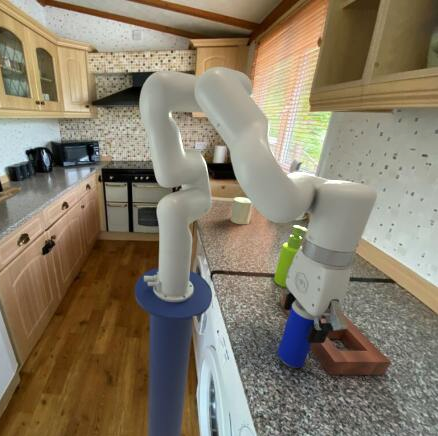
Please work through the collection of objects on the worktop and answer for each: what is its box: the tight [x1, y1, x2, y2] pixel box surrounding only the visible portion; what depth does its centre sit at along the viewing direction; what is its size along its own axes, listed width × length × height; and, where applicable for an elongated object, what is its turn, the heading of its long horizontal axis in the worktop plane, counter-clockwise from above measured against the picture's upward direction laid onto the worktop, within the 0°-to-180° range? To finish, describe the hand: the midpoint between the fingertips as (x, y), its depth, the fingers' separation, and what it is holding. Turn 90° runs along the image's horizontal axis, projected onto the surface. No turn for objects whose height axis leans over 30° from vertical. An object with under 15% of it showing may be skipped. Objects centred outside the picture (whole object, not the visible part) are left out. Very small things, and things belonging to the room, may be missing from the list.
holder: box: [280, 293, 392, 376], centre depth 60 cm, size 12×20×4 cm, turn 0°
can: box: [230, 196, 253, 225], centre depth 124 cm, size 9×9×12 cm
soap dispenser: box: [273, 224, 307, 289], centre depth 75 cm, size 6×7×20 cm
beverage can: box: [277, 299, 322, 369], centre depth 51 cm, size 5×5×15 cm
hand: (302, 323), depth 50 cm, fingers open, 7 cm apart
